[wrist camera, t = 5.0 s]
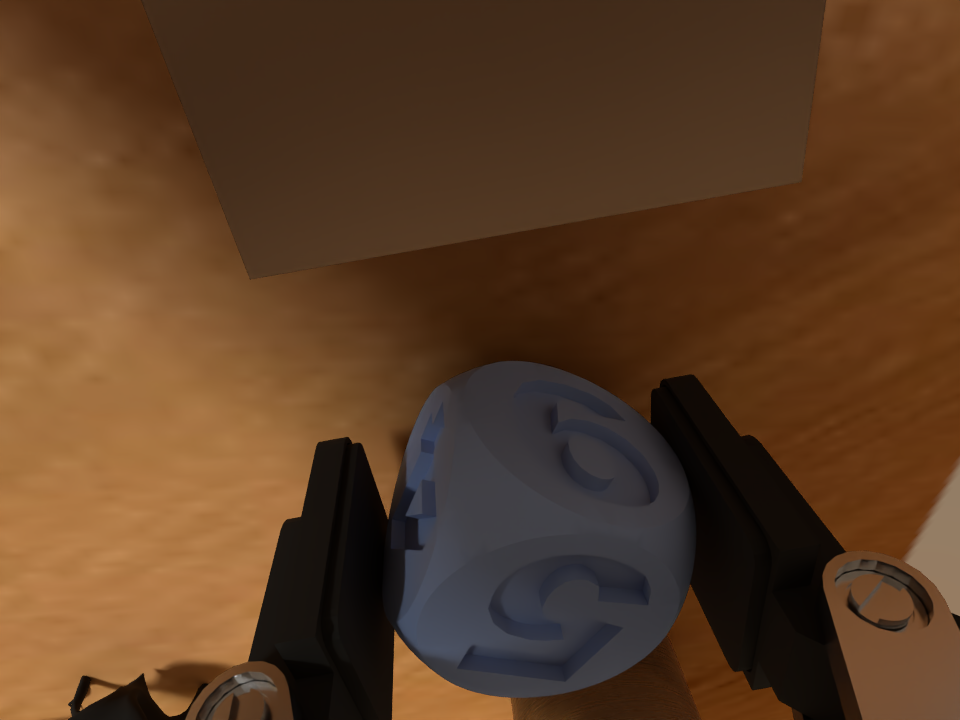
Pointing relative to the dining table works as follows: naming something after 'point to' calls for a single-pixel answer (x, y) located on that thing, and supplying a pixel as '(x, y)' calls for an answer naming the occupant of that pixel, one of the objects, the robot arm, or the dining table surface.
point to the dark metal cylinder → (622, 695)
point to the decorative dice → (535, 533)
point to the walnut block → (480, 113)
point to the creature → (122, 703)
